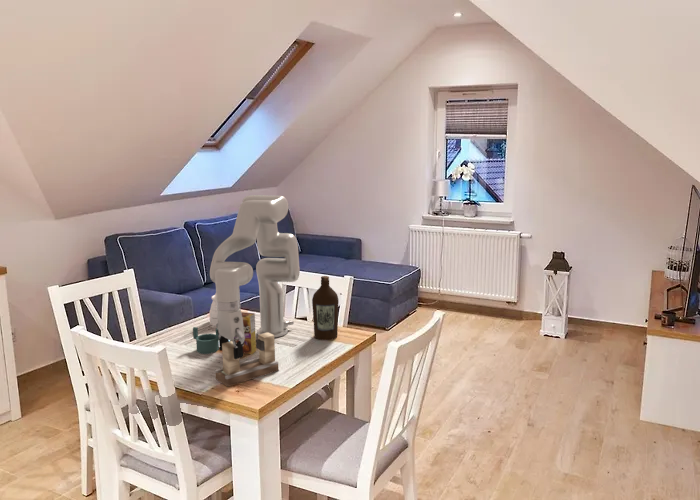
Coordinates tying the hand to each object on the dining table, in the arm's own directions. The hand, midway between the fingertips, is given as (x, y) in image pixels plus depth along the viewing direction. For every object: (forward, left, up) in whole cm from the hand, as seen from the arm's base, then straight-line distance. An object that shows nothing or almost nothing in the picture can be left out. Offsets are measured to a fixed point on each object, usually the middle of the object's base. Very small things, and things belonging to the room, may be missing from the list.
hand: (231, 353), depth 198 cm
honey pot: (-28, -57, -9) cm, 64 cm away
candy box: (-16, -20, -9) cm, 27 cm away
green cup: (-7, -31, -9) cm, 33 cm away
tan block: (0, 0, -6) cm, 6 cm away
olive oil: (-50, -13, -9) cm, 52 cm away
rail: (-6, 0, -9) cm, 11 cm away
